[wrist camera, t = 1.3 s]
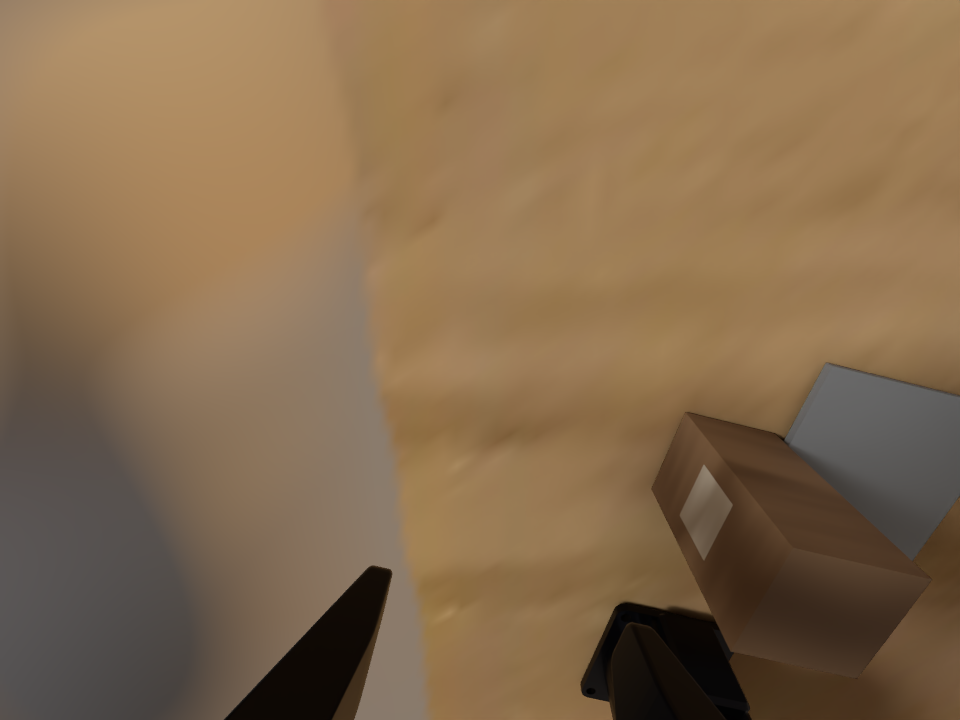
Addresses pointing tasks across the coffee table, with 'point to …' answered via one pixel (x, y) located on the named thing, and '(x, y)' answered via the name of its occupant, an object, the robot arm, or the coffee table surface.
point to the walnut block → (781, 550)
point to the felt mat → (883, 449)
